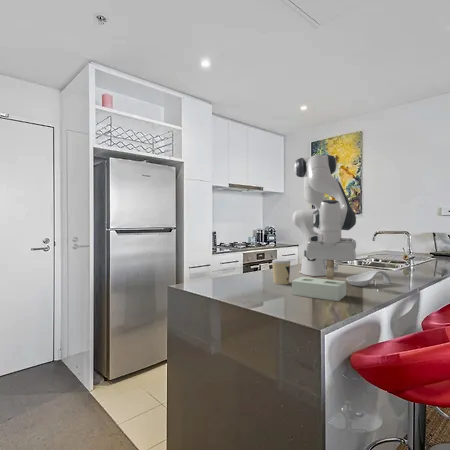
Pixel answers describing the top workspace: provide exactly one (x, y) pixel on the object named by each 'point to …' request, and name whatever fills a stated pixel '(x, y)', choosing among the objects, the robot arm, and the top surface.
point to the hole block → (319, 288)
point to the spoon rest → (367, 278)
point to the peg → (330, 269)
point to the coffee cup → (281, 271)
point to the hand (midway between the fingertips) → (330, 270)
